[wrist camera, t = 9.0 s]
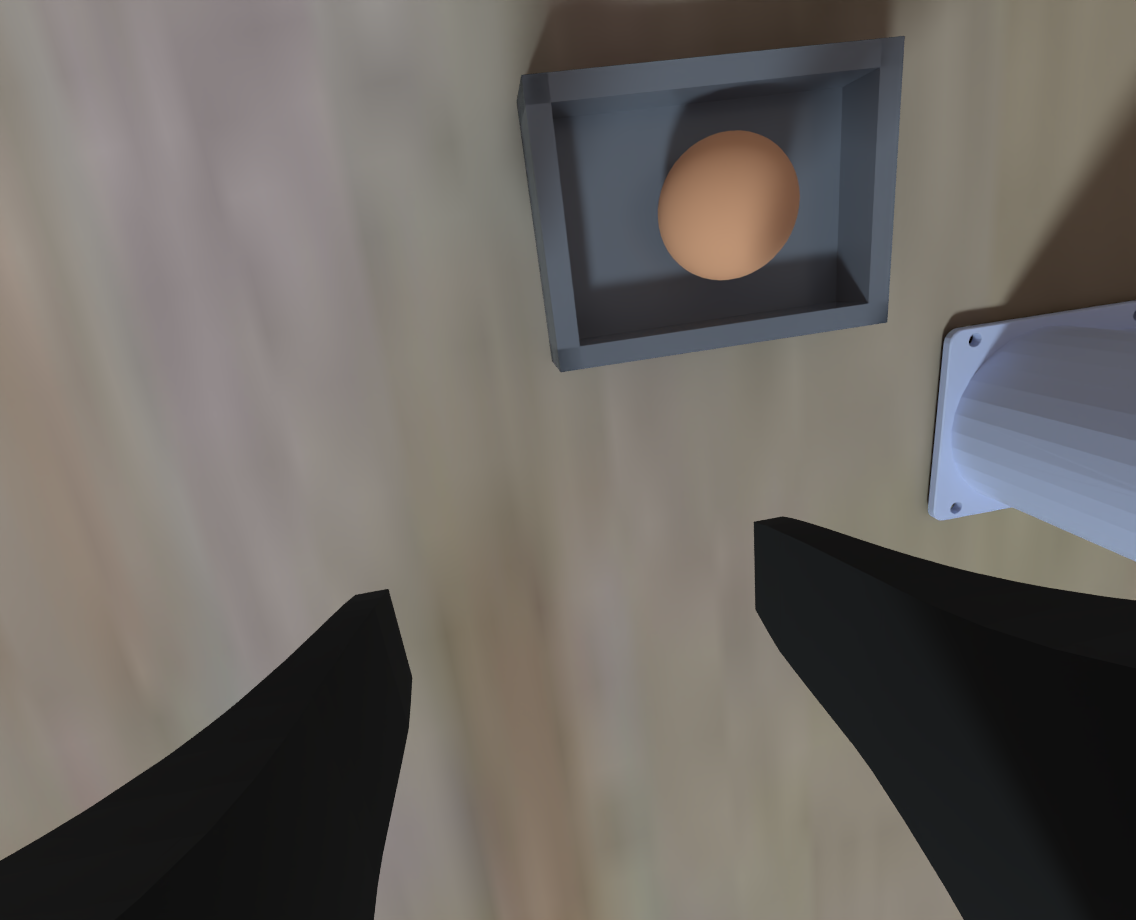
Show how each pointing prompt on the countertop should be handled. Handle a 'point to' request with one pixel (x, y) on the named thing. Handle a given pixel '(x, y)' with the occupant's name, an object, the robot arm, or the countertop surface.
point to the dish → (642, 162)
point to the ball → (728, 205)
